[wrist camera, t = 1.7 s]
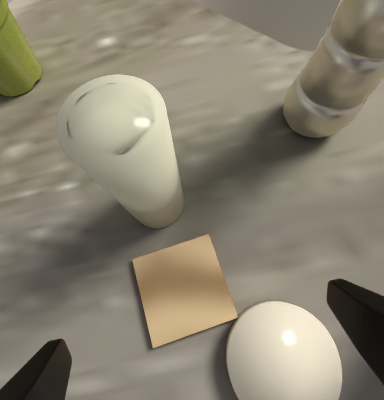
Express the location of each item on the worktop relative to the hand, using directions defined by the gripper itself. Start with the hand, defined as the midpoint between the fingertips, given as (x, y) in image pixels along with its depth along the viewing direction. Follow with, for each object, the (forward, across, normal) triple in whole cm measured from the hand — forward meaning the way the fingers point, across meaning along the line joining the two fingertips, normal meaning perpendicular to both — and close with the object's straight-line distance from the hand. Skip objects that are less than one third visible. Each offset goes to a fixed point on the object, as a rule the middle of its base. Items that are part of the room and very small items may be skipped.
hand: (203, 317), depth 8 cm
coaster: (+10, +1, +7) cm, 13 cm away
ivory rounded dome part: (+6, -6, +12) cm, 14 cm away
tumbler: (+15, +2, +1) cm, 15 cm away
